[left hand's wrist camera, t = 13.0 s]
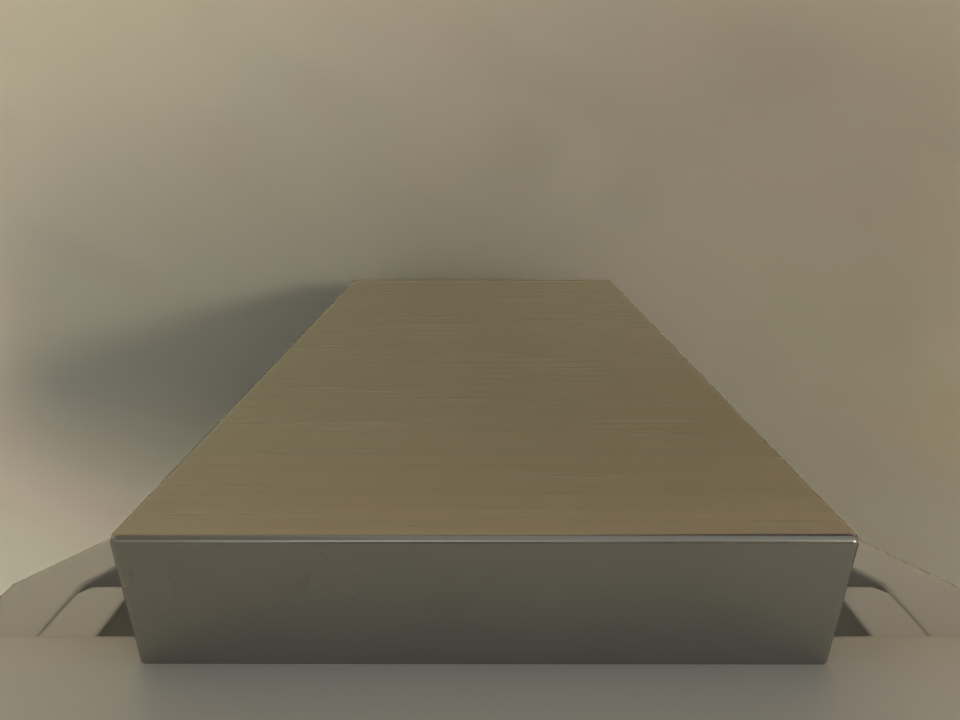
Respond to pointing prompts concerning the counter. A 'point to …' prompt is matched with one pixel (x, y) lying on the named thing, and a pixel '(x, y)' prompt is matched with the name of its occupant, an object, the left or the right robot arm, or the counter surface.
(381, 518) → the bar
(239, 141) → the counter surface
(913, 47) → the counter surface
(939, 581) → the left robot arm
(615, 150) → the counter surface
